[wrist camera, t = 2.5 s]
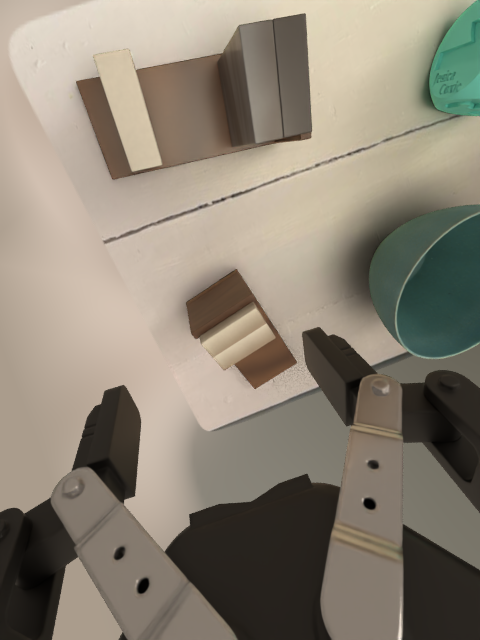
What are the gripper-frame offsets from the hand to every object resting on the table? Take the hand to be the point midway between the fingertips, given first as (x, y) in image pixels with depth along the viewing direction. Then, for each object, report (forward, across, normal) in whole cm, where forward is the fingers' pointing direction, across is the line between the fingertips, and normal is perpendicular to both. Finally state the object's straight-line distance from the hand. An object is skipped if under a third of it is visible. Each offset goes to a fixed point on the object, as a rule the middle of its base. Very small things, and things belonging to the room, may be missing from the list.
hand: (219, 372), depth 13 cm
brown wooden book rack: (+26, -5, +16) cm, 31 cm away
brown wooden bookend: (+26, -4, -11) cm, 29 cm away
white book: (+25, +1, -11) cm, 28 cm away
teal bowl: (+26, -29, +11) cm, 40 cm away
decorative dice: (+26, -35, -10) cm, 45 cm away
